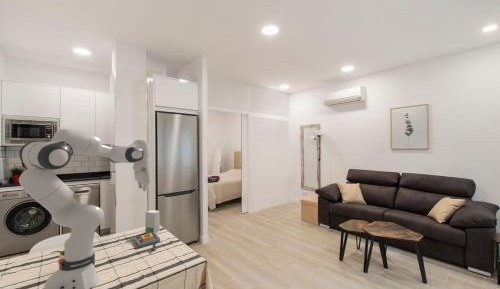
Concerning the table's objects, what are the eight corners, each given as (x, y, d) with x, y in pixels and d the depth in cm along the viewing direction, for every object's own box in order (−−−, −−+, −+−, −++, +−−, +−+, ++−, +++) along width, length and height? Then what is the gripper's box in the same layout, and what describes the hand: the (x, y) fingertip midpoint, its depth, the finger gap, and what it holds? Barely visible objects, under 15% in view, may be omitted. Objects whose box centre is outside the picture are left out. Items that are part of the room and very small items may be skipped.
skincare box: (145, 232, 172) (144, 212, 172) (151, 229, 178) (150, 209, 178) (154, 234, 169) (154, 213, 169) (160, 230, 176) (160, 210, 175)
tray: (139, 247, 148) (139, 243, 148) (134, 240, 158) (134, 237, 158) (160, 241, 156) (160, 238, 156) (154, 235, 166) (154, 232, 166)
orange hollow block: (153, 240, 157) (153, 236, 156) (140, 244, 151) (140, 239, 151) (150, 237, 162) (150, 233, 162) (137, 240, 156) (137, 236, 156)
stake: (152, 251, 142) (152, 245, 142) (151, 249, 145) (150, 244, 145) (157, 249, 144) (157, 244, 144) (155, 248, 147) (155, 242, 147)
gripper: (152, 167, 134) (152, 191, 134) (143, 165, 150) (143, 186, 150) (140, 168, 130) (141, 193, 130) (132, 166, 146) (133, 187, 146)
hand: (142, 189), depth 140 cm, fingers open, 8 cm apart
